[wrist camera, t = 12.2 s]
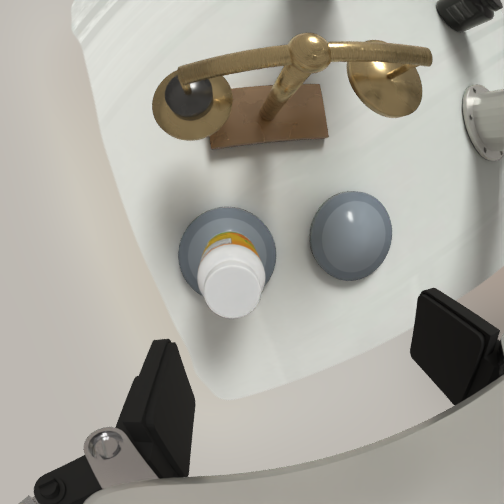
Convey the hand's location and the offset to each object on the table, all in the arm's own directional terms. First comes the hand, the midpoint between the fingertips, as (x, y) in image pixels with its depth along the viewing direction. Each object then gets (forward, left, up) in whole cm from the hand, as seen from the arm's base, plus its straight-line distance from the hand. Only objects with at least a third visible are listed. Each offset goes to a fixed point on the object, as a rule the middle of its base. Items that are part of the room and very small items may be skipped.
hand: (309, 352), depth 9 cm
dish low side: (+3, +1, -21) cm, 21 cm away
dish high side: (-11, +1, -21) cm, 24 cm away
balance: (-3, -13, -21) cm, 25 cm away
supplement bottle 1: (+3, +1, -20) cm, 20 cm away
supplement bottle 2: (-38, -34, -21) cm, 55 cm away
